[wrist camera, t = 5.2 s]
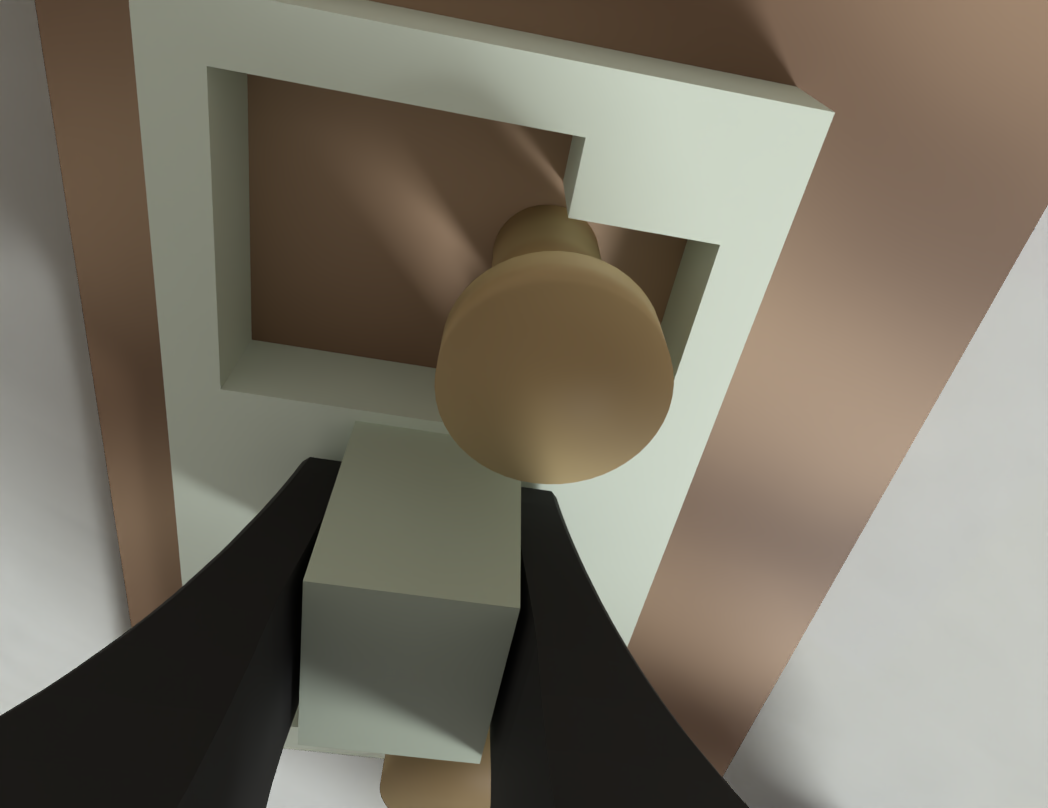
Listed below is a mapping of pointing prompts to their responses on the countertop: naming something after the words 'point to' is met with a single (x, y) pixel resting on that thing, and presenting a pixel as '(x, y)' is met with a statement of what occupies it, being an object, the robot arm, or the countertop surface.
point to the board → (454, 173)
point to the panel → (408, 390)
